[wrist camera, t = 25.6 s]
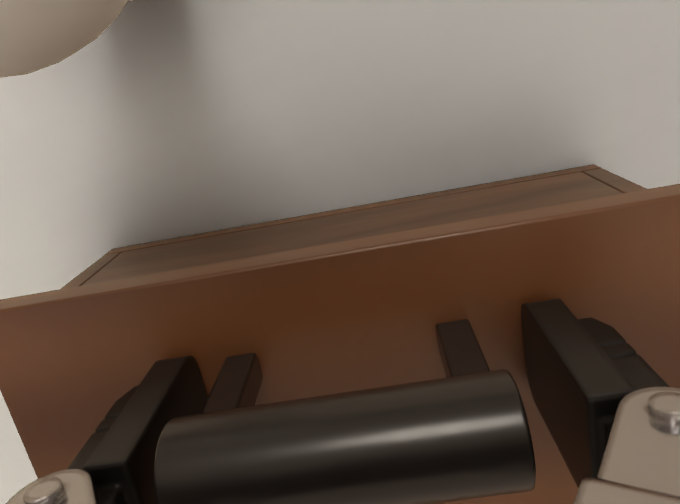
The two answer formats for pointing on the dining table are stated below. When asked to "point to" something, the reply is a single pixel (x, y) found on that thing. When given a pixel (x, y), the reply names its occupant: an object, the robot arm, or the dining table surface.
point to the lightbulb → (49, 30)
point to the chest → (357, 223)
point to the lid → (352, 357)
